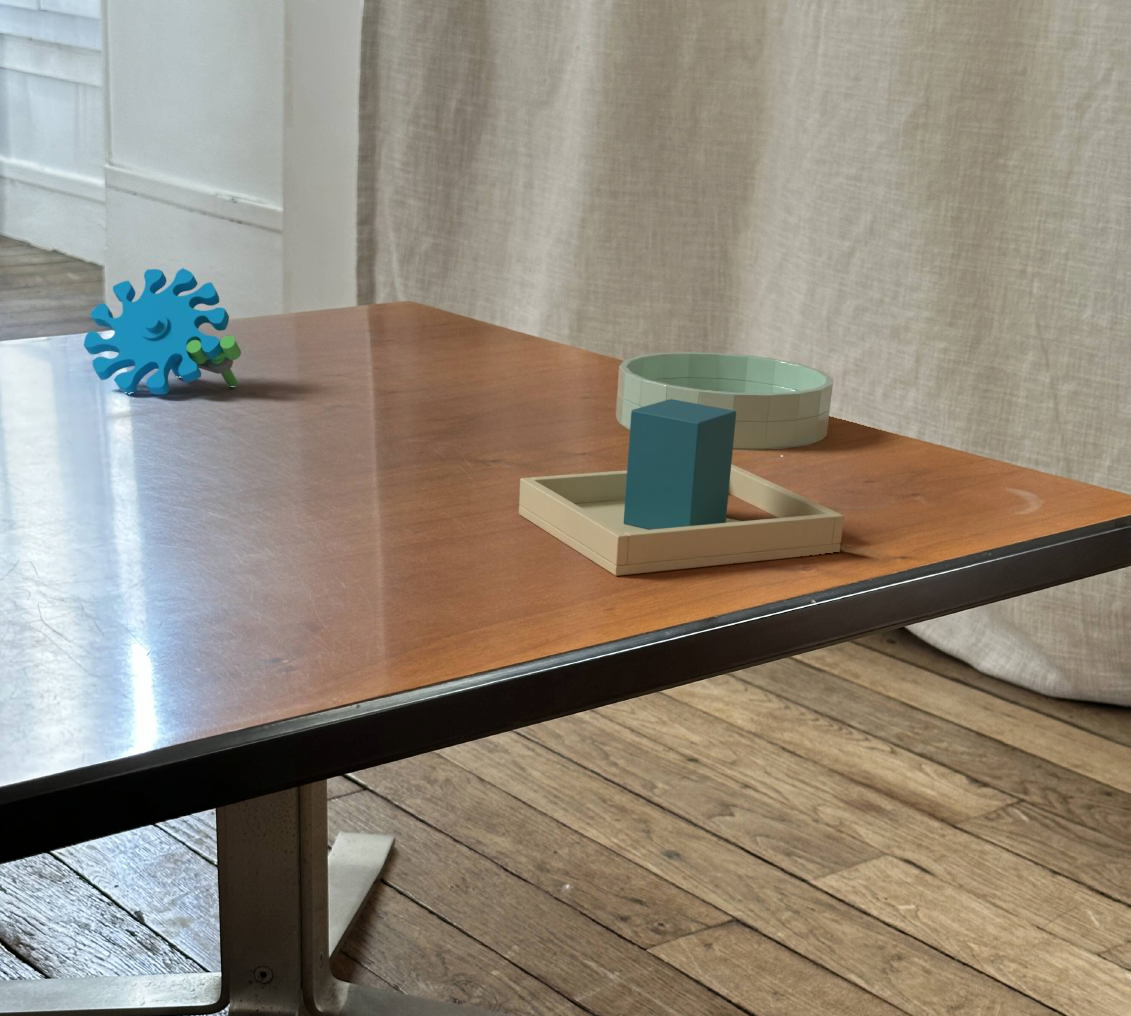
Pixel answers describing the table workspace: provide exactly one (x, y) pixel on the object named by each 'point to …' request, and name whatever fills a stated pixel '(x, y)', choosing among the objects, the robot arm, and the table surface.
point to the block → (678, 465)
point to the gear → (162, 334)
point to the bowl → (734, 393)
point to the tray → (596, 530)
